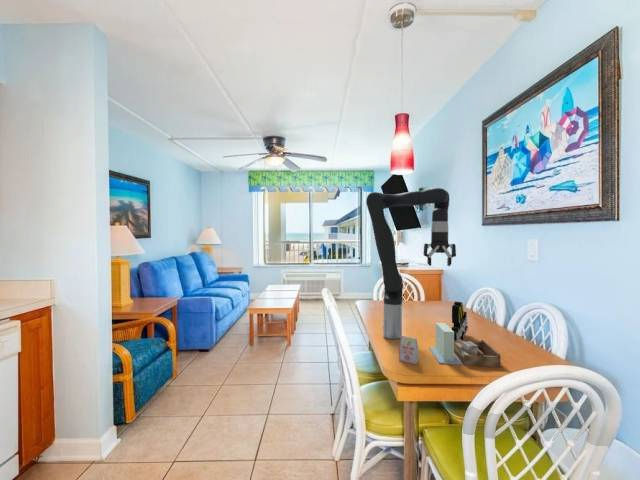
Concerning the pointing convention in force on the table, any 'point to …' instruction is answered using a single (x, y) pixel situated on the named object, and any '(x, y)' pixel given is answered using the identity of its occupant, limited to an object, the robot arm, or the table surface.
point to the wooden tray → (480, 355)
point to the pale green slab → (445, 341)
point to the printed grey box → (408, 350)
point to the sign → (459, 321)
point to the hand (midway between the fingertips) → (439, 265)
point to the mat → (440, 360)
